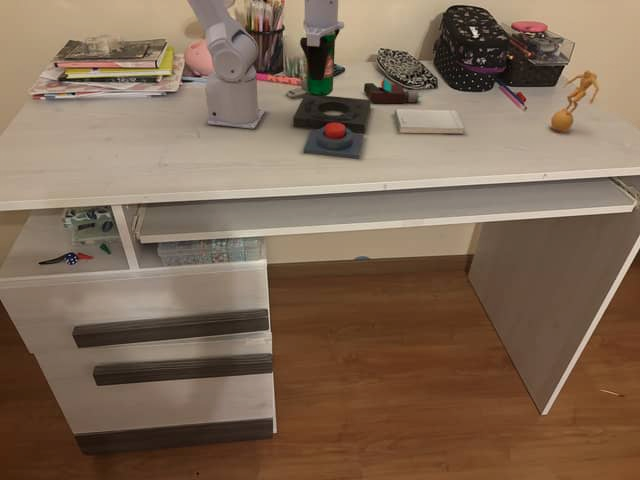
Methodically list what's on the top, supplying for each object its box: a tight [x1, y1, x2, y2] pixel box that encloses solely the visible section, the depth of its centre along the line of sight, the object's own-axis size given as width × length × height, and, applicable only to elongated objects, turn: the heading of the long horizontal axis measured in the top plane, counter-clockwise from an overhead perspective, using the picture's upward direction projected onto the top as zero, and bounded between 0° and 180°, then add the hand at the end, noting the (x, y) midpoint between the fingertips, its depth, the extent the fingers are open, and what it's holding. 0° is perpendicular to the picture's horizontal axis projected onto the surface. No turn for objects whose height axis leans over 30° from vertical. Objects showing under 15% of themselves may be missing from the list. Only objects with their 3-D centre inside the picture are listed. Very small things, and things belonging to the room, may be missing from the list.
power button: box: [325, 123, 345, 139], centre depth 93 cm, size 4×4×2 cm
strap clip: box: [286, 73, 309, 99], centre depth 112 cm, size 8×3×4 cm, turn 129°
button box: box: [303, 127, 365, 160], centre depth 94 cm, size 10×8×2 cm
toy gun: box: [363, 78, 422, 104], centre depth 112 cm, size 10×12×5 cm
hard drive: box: [393, 108, 465, 135], centre depth 102 cm, size 2×8×12 cm
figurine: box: [550, 69, 600, 132], centre depth 99 cm, size 8×6×12 cm
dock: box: [292, 93, 372, 135], centre depth 103 cm, size 14×12×2 cm
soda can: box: [305, 31, 336, 96], centre depth 93 cm, size 5×5×12 cm
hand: (319, 74), depth 94 cm, fingers closed on soda can, 5 cm apart
